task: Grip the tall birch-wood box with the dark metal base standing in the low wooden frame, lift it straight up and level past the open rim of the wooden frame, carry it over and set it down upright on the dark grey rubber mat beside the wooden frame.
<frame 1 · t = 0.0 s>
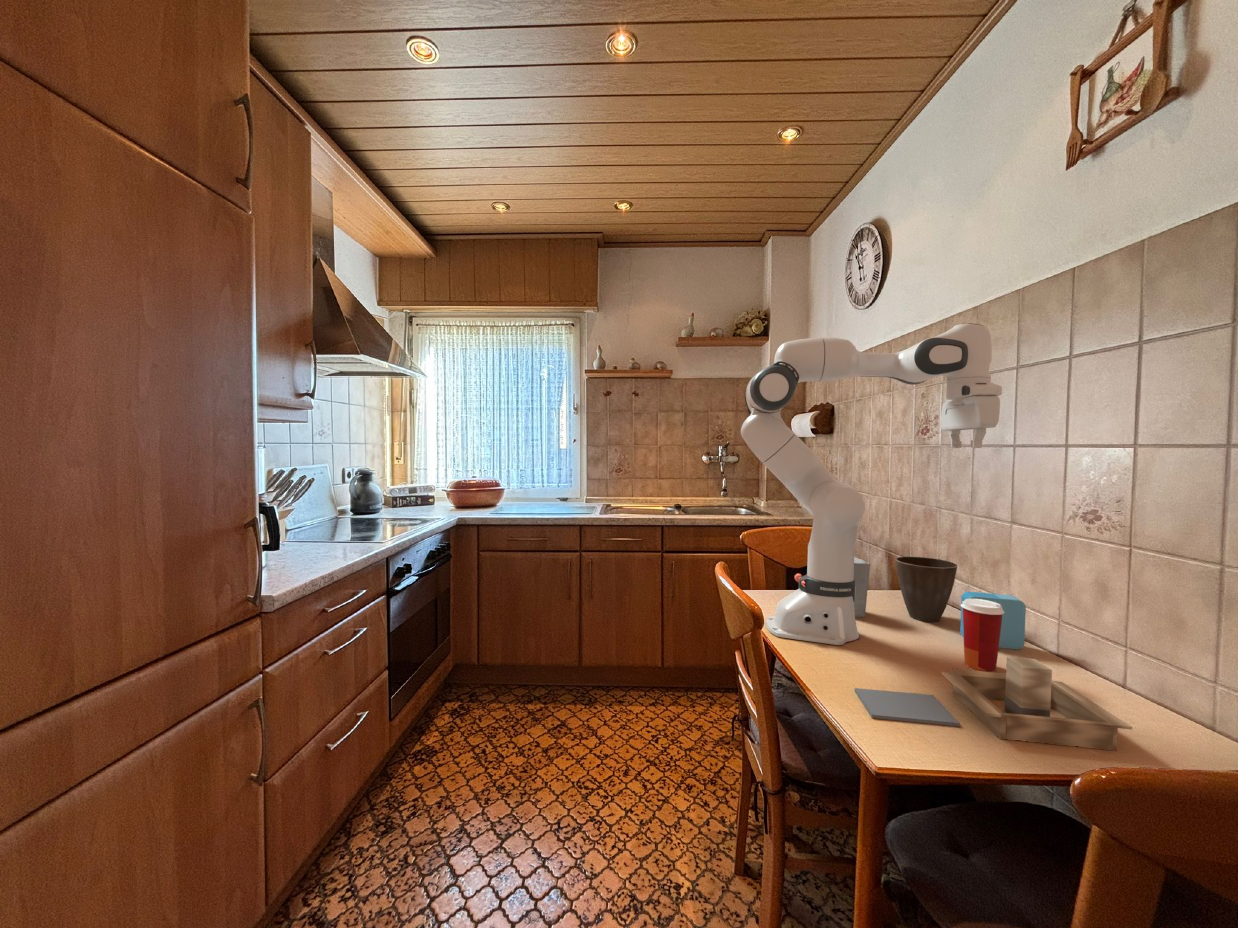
hand: (965, 448, 123), 48 cm above the table, tool pointing down, fingers open, 8 cm apart
plant pot: (923, 618, 143), on the table
wooden frame: (1026, 718, 88), on the table
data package: (990, 644, 124), on the table
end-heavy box: (1026, 719, 88), resting in wooden frame
rubber mat: (903, 707, 91), on the table
skincare box: (848, 613, 146), on the table
paper cup: (979, 666, 110), on the table
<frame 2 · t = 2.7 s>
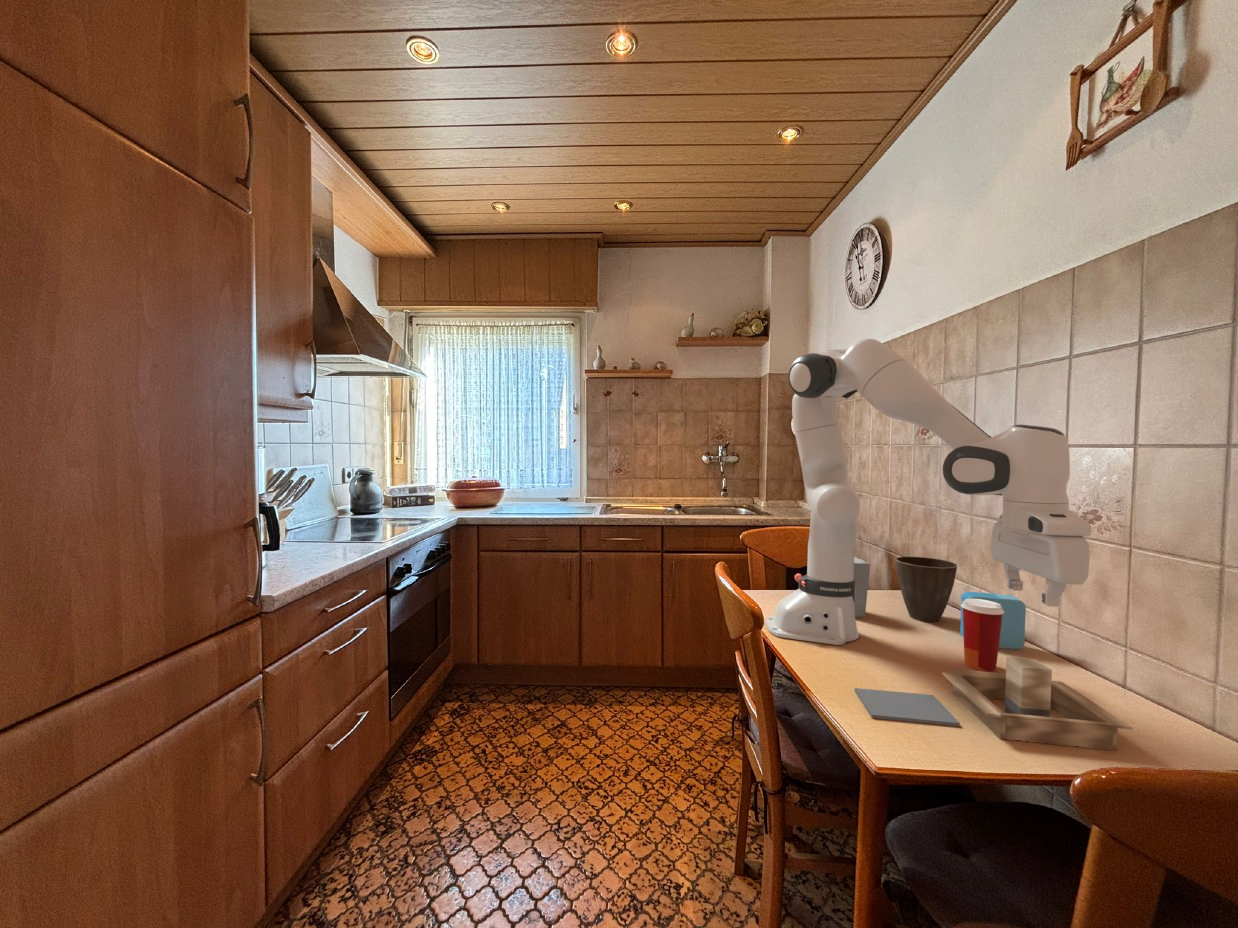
hand: (1031, 597, 88), 22 cm above the table, tool pointing down, fingers open, 8 cm apart
nothing on the table moved.
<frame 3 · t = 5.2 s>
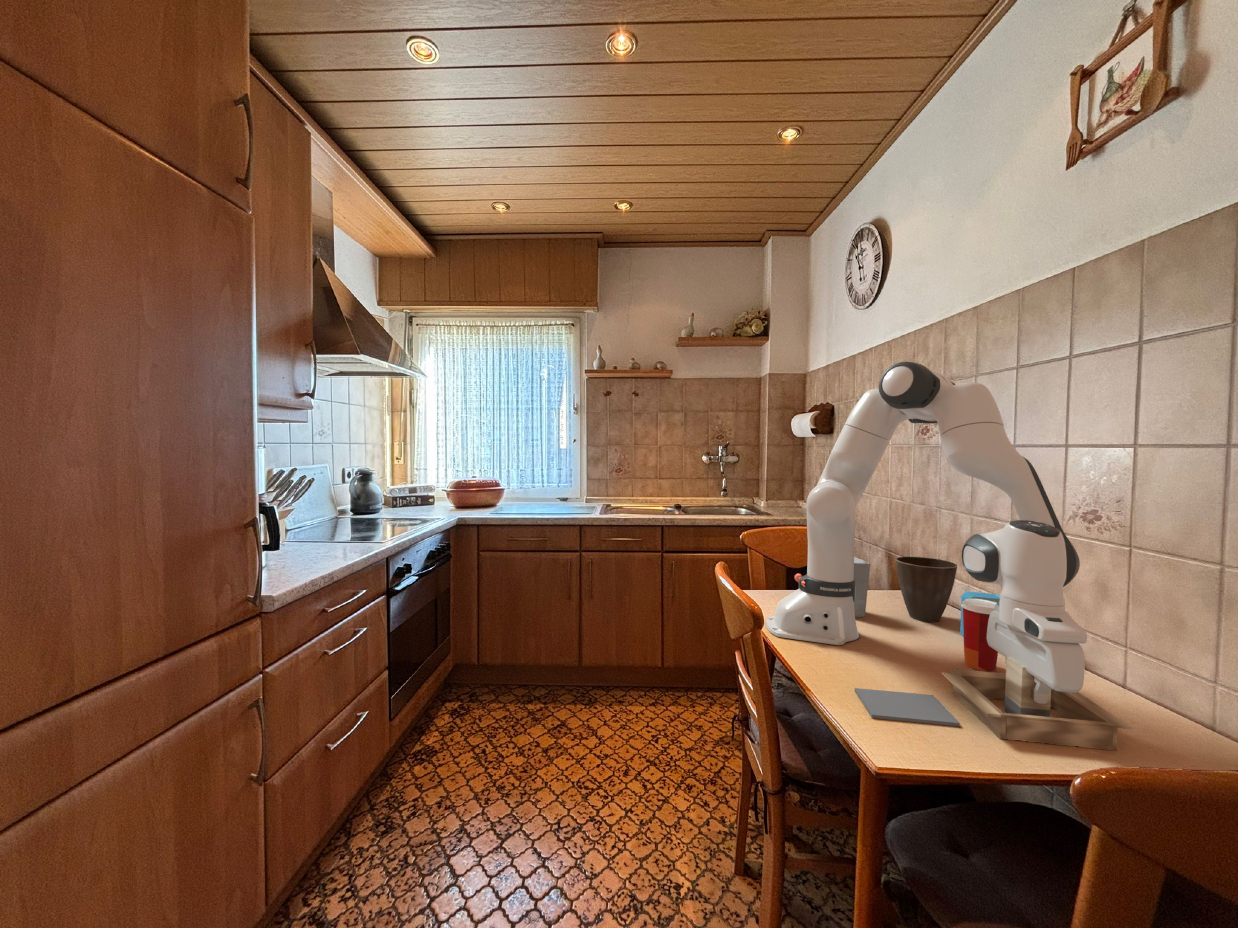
hand: (1027, 693, 88), 5 cm above the table, tool pointing down, fingers closed on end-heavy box, 4 cm apart
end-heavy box: (1026, 719, 88), resting in wooden frame, touching gripper
everything else where it was.
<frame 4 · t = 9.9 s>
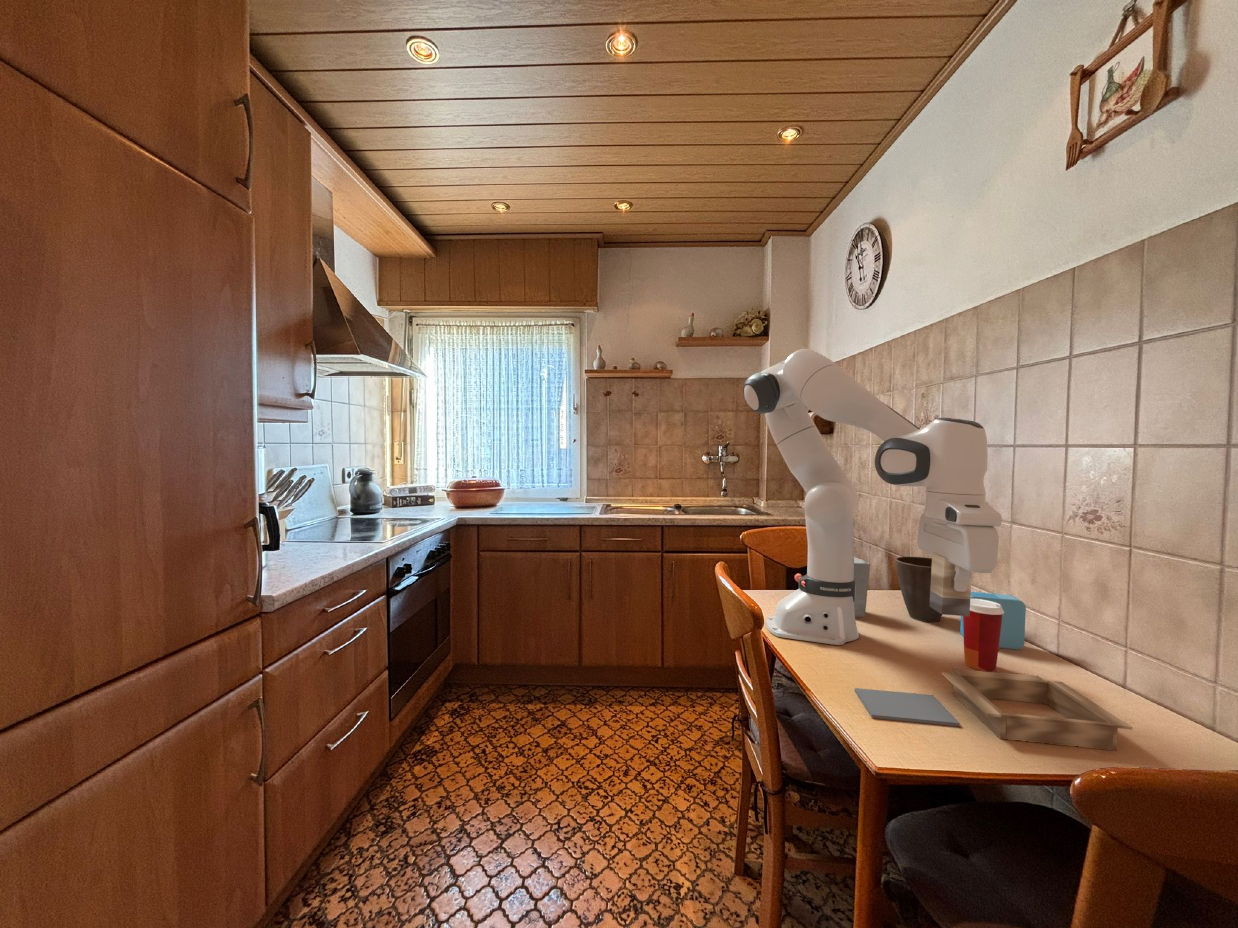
hand: (949, 585, 90), 23 cm above the table, tool pointing down, fingers closed on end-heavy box, 4 cm apart
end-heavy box: (948, 611, 90), point 18 cm above the table, touching gripper
everything else where it was.
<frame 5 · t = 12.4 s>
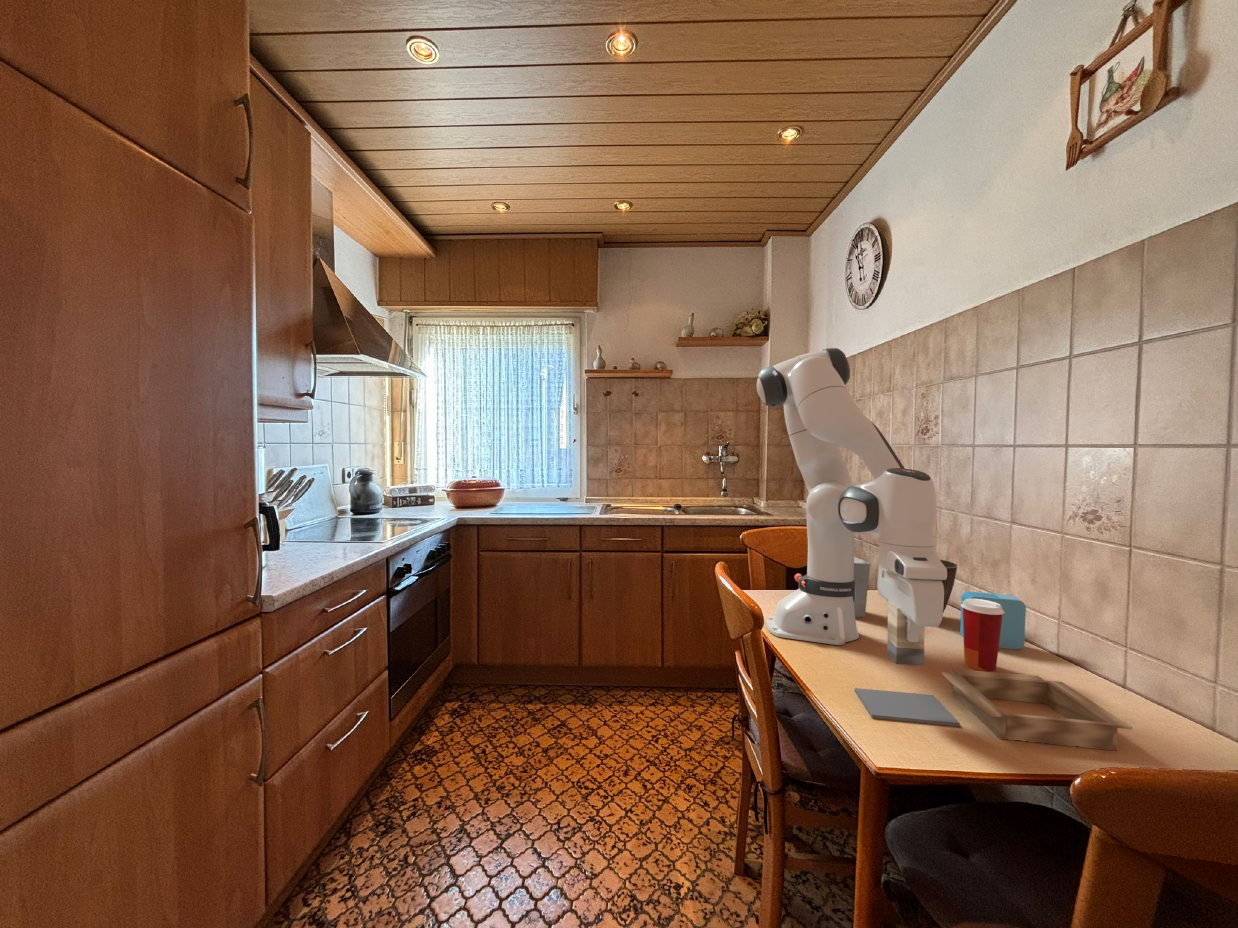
hand: (905, 634, 91), 13 cm above the table, tool pointing down, fingers closed on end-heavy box, 4 cm apart
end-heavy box: (905, 659, 91), point 9 cm above the table, touching gripper
everything else where it was.
when the fingers open (7 cm above the table, at t = 14.5 s): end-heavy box drops 1 cm, resting on rubber mat.
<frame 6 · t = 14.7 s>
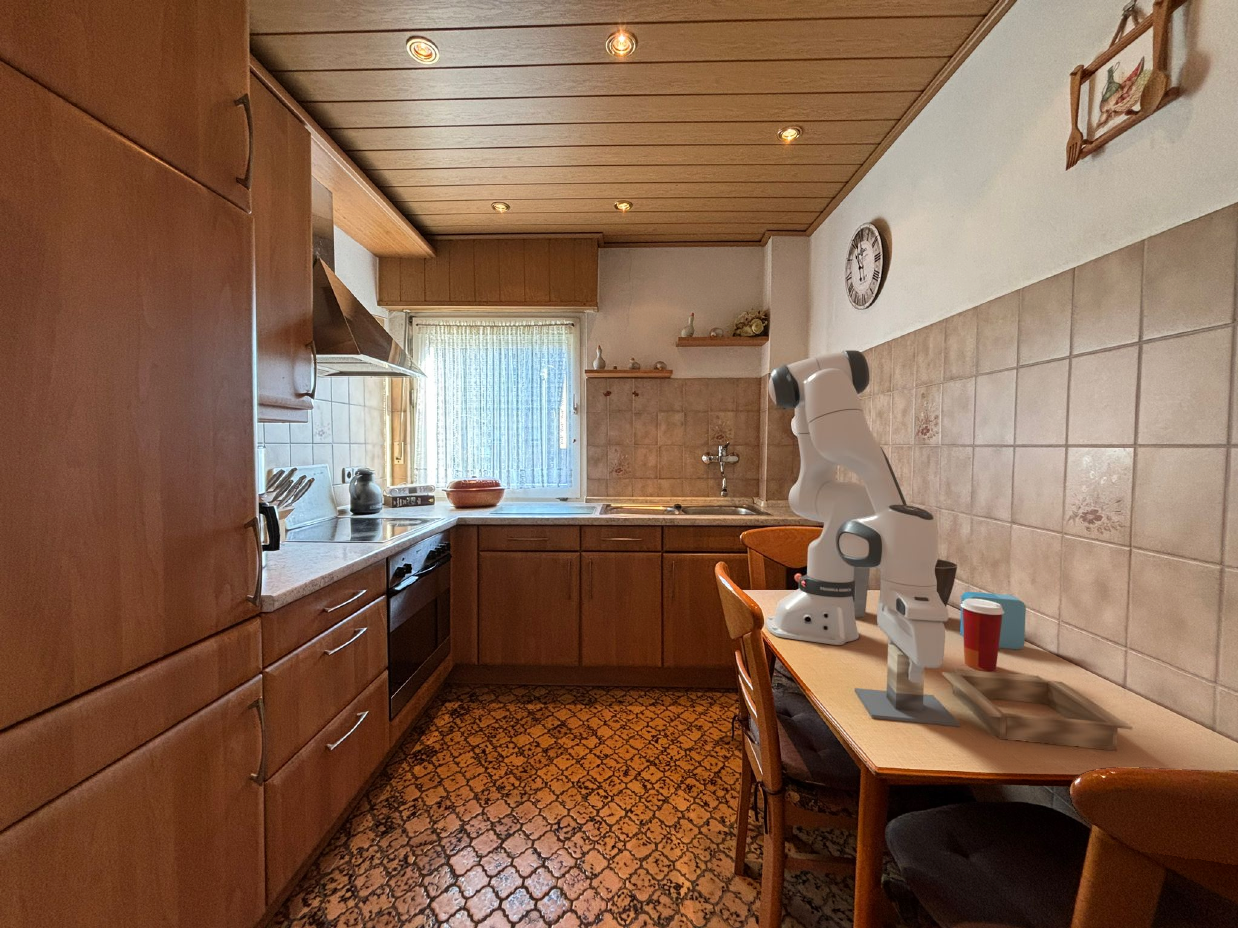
hand: (904, 671, 91), 7 cm above the table, tool pointing down, fingers open, 6 cm apart
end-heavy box: (904, 704, 91), point 1 cm above the table, touching rubber mat
everything else where it was.
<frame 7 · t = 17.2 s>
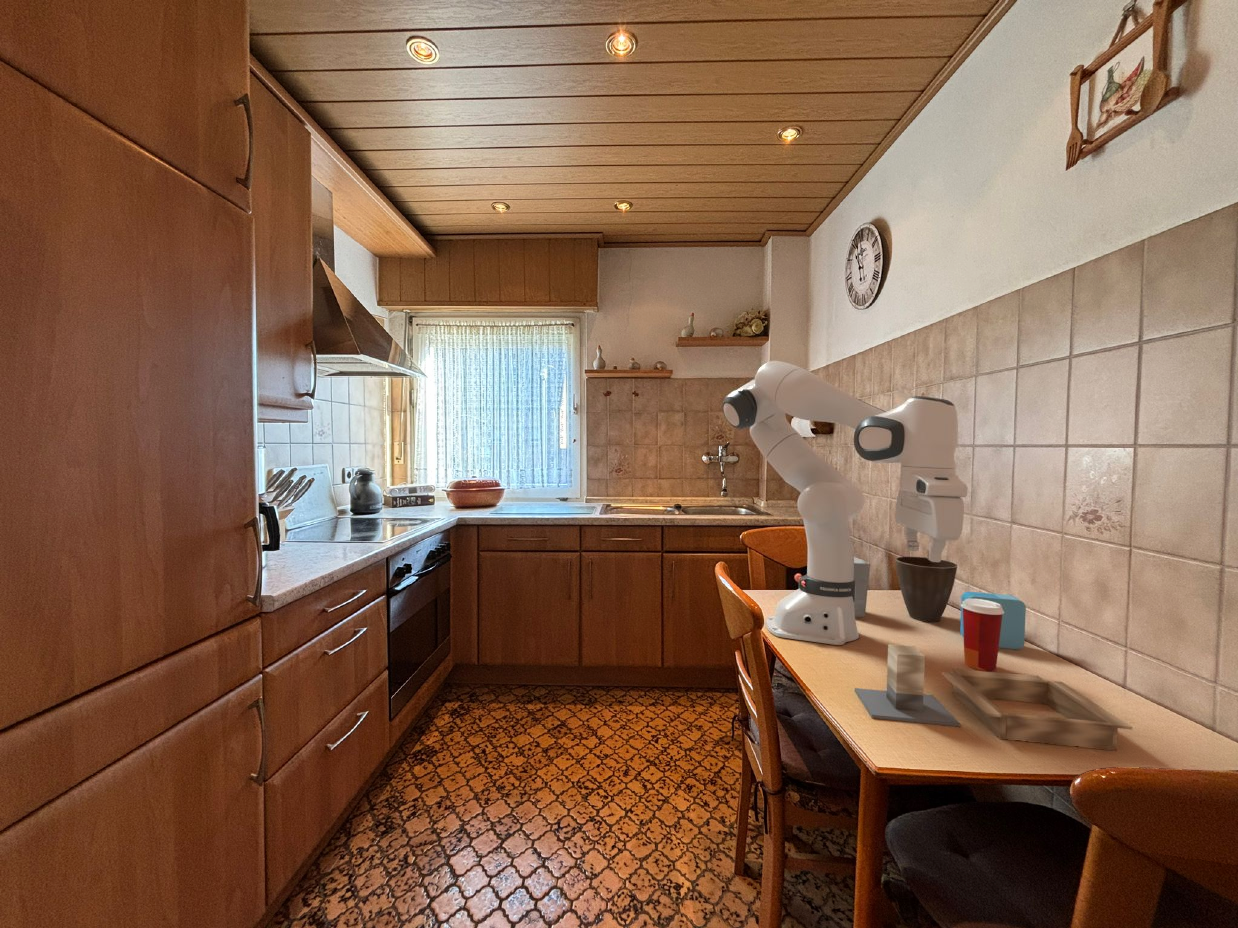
hand: (922, 555, 95), 27 cm above the table, tool pointing down, fingers open, 8 cm apart
nothing on the table moved.
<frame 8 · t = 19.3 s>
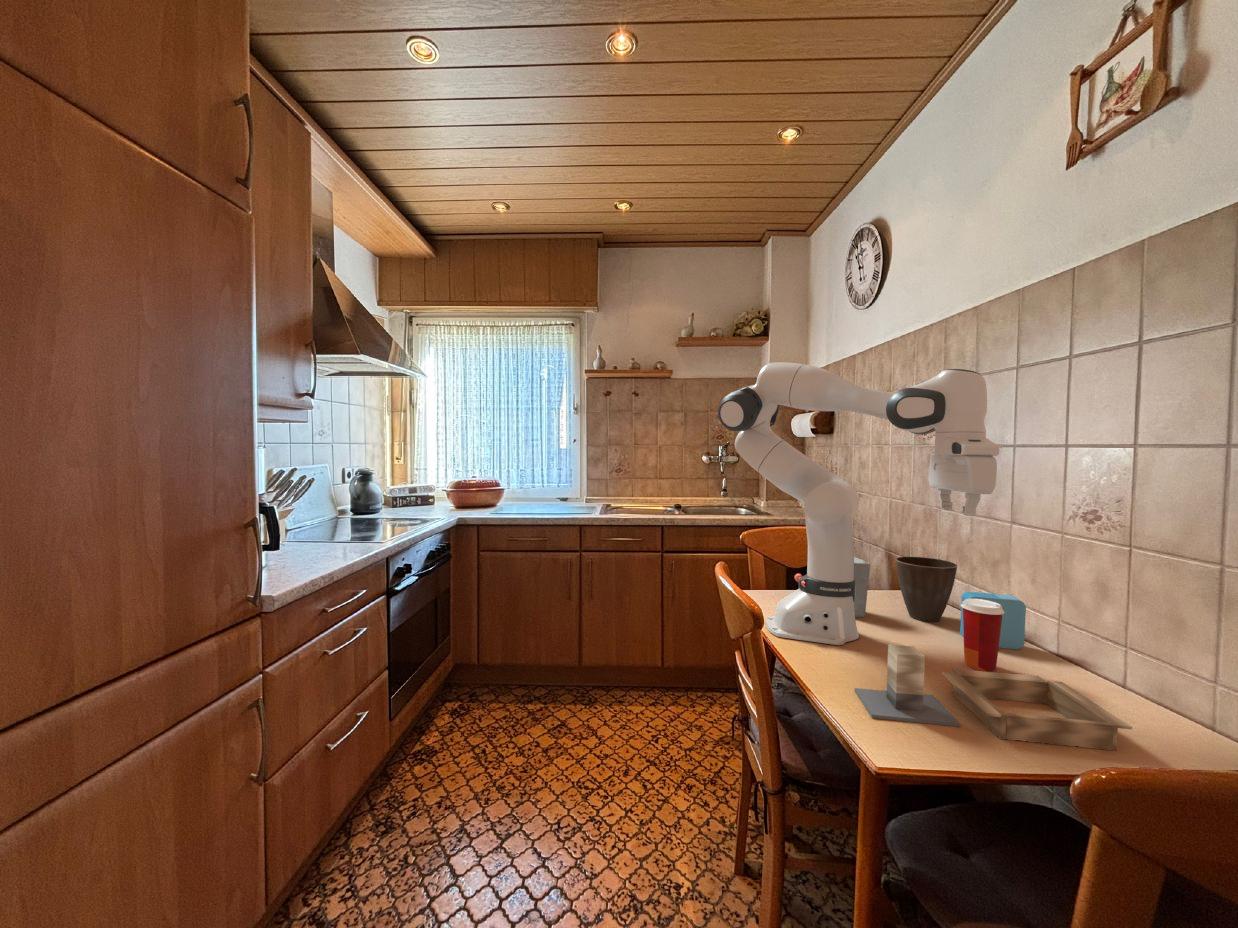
hand: (957, 512, 106), 34 cm above the table, tool pointing down, fingers open, 8 cm apart
nothing on the table moved.
at the end: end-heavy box 0.1 cm off-centre on the rubber mat, point 0.6 cm above the rubber mat's base; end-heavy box tilted 0°; the gripper is holding nothing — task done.
